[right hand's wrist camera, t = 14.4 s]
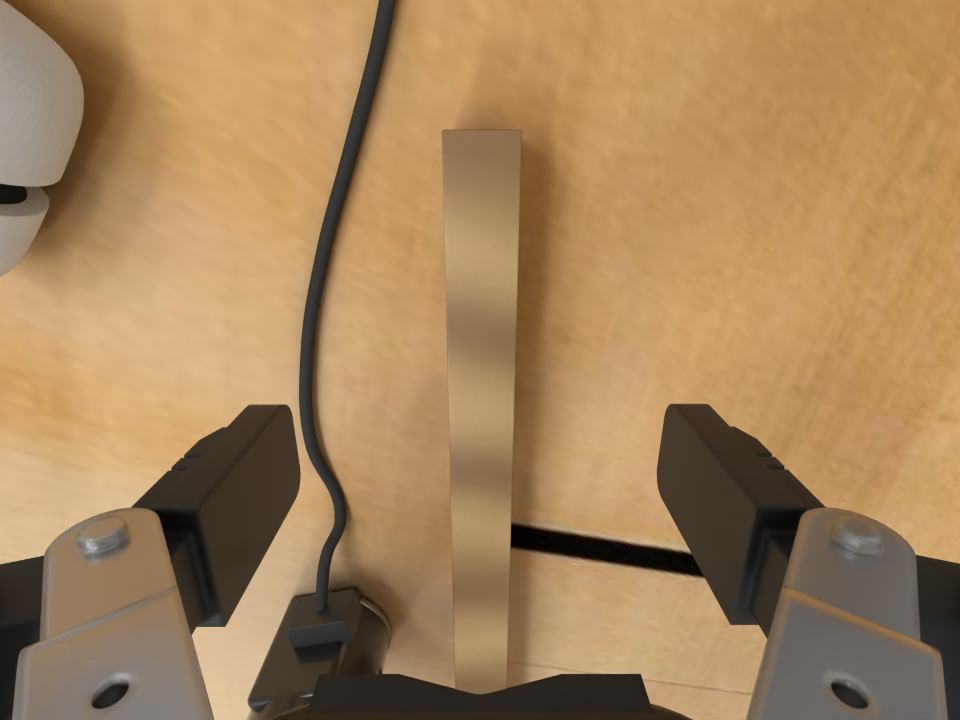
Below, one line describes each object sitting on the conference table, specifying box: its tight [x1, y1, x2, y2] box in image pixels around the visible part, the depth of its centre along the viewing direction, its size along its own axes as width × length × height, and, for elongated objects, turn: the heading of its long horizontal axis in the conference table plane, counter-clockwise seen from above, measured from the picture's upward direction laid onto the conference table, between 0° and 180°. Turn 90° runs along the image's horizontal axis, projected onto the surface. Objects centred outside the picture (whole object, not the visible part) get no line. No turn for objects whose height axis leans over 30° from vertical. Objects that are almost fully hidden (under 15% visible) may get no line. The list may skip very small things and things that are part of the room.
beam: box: [442, 130, 522, 694], centre depth 43 cm, size 80×4×7 cm, turn 0°
